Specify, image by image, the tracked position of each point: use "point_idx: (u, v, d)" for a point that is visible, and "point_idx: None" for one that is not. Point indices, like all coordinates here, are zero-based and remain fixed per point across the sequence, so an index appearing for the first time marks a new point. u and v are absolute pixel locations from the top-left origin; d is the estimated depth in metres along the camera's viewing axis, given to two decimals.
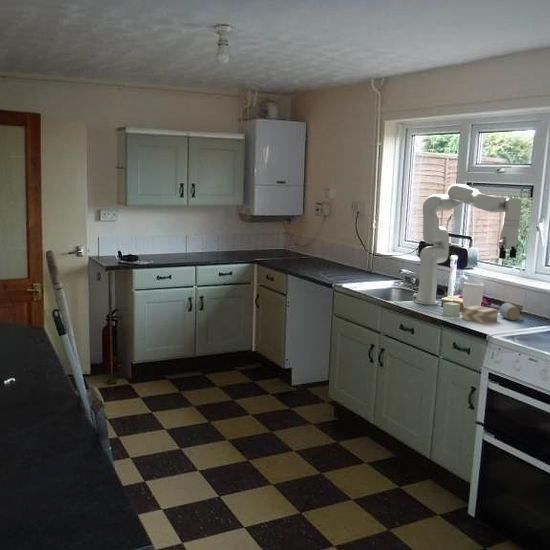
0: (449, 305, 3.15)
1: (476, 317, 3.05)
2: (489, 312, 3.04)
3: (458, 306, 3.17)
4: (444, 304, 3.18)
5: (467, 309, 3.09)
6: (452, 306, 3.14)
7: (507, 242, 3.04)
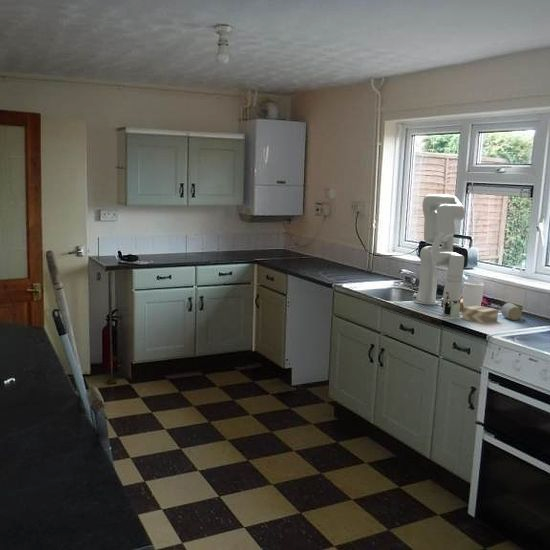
0: None
1: (475, 317, 3.06)
2: (489, 312, 3.04)
3: (458, 306, 3.17)
4: None
5: (467, 309, 3.09)
6: (452, 306, 3.14)
7: (450, 297, 3.13)
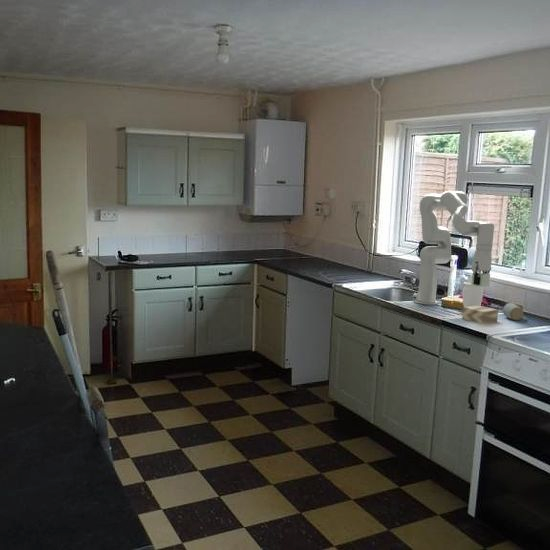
0: None
1: (475, 317, 3.06)
2: (489, 312, 3.04)
3: (488, 276, 3.07)
4: (473, 274, 3.08)
5: (467, 309, 3.09)
6: (482, 276, 3.04)
7: (480, 267, 3.03)
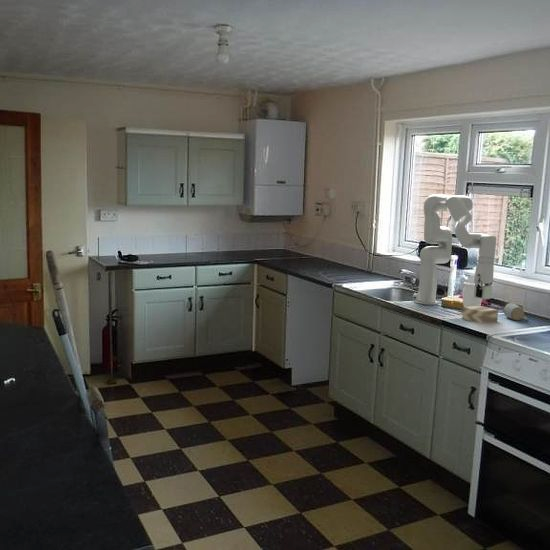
0: None
1: (475, 317, 3.06)
2: (488, 312, 3.04)
3: (490, 288, 3.07)
4: (475, 286, 3.08)
5: (467, 309, 3.09)
6: (484, 288, 3.04)
7: (482, 279, 3.03)
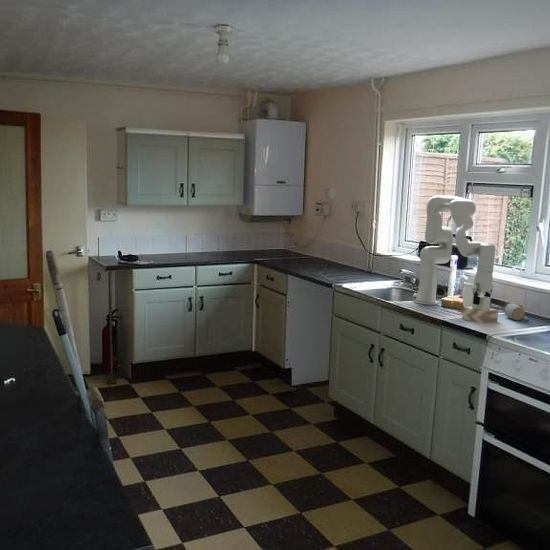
0: None
1: (475, 317, 3.06)
2: (488, 312, 3.04)
3: (488, 299, 3.08)
4: None
5: (467, 309, 3.09)
6: (483, 299, 3.05)
7: (481, 288, 3.04)
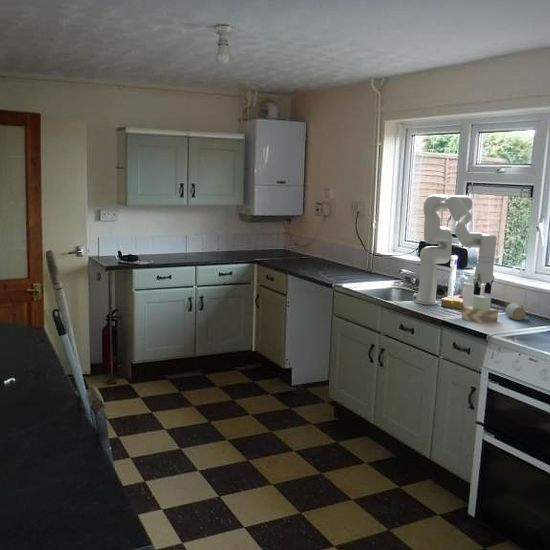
0: (480, 298, 3.07)
1: (475, 317, 3.06)
2: (488, 312, 3.04)
3: (489, 299, 3.08)
4: (474, 297, 3.09)
5: (467, 309, 3.09)
6: (483, 299, 3.05)
7: (481, 279, 3.03)
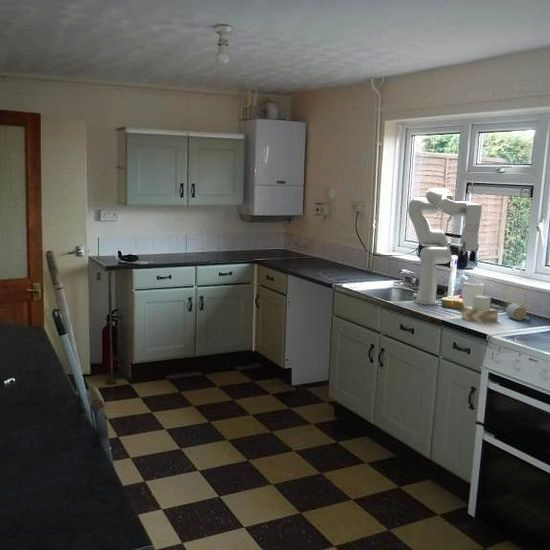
0: (479, 298, 3.07)
1: (475, 317, 3.06)
2: (488, 312, 3.04)
3: (488, 299, 3.08)
4: (474, 297, 3.09)
5: (466, 309, 3.09)
6: (482, 299, 3.05)
7: (466, 247, 3.11)
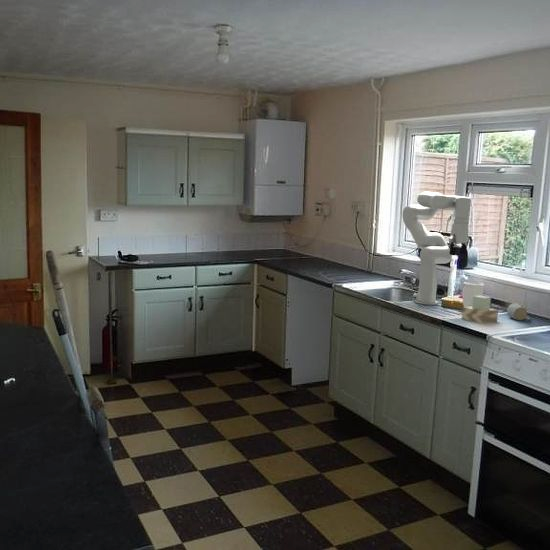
0: (479, 298, 3.07)
1: (474, 317, 3.06)
2: (488, 312, 3.04)
3: (489, 299, 3.08)
4: (474, 297, 3.09)
5: (466, 309, 3.09)
6: (483, 299, 3.05)
7: (457, 239, 3.16)
